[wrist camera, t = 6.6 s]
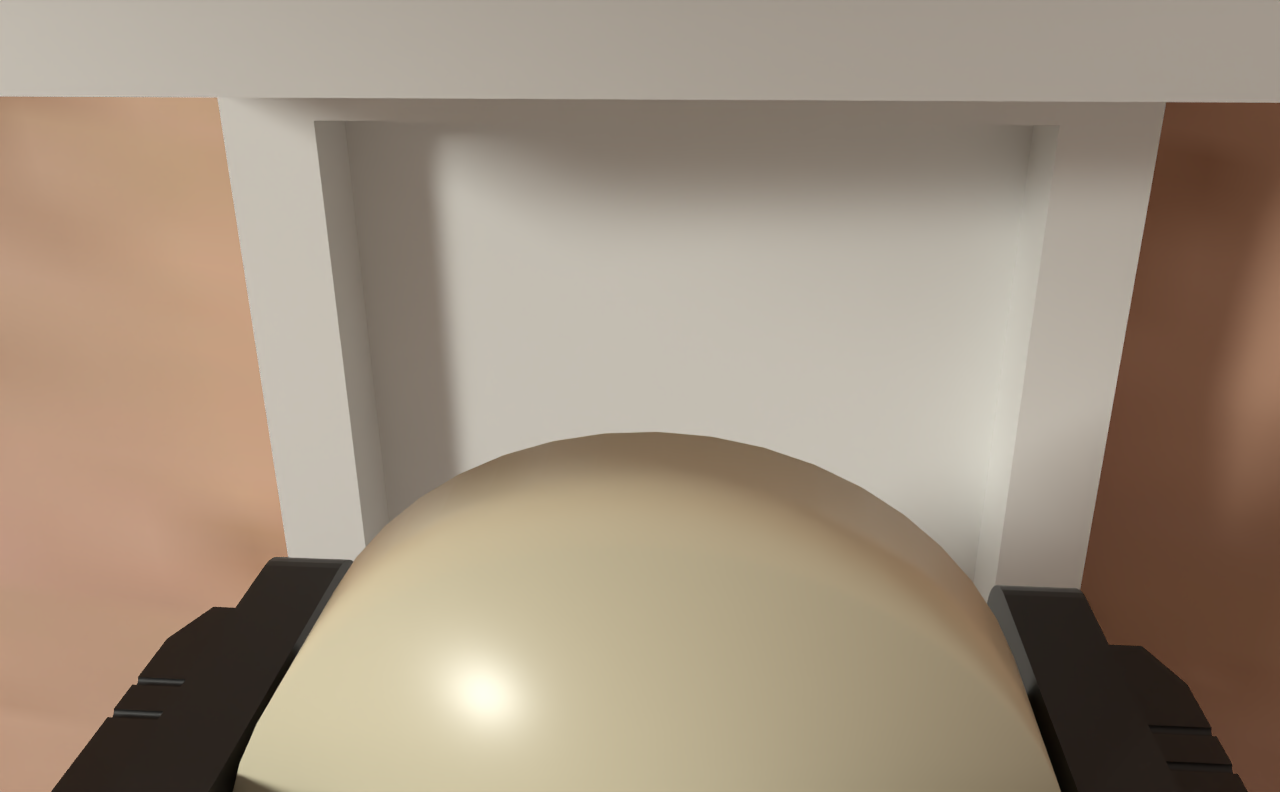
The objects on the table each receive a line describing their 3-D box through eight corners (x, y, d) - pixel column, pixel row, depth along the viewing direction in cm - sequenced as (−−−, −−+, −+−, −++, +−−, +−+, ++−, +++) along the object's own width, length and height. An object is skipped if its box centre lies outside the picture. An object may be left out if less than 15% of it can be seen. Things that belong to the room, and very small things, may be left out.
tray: (171, -57, 16) (-142, -21, 10) (1232, -62, 15) (1546, -25, 9) (301, 752, 21) (149, 1065, 16) (1072, 785, 20) (1204, 1131, 15)
